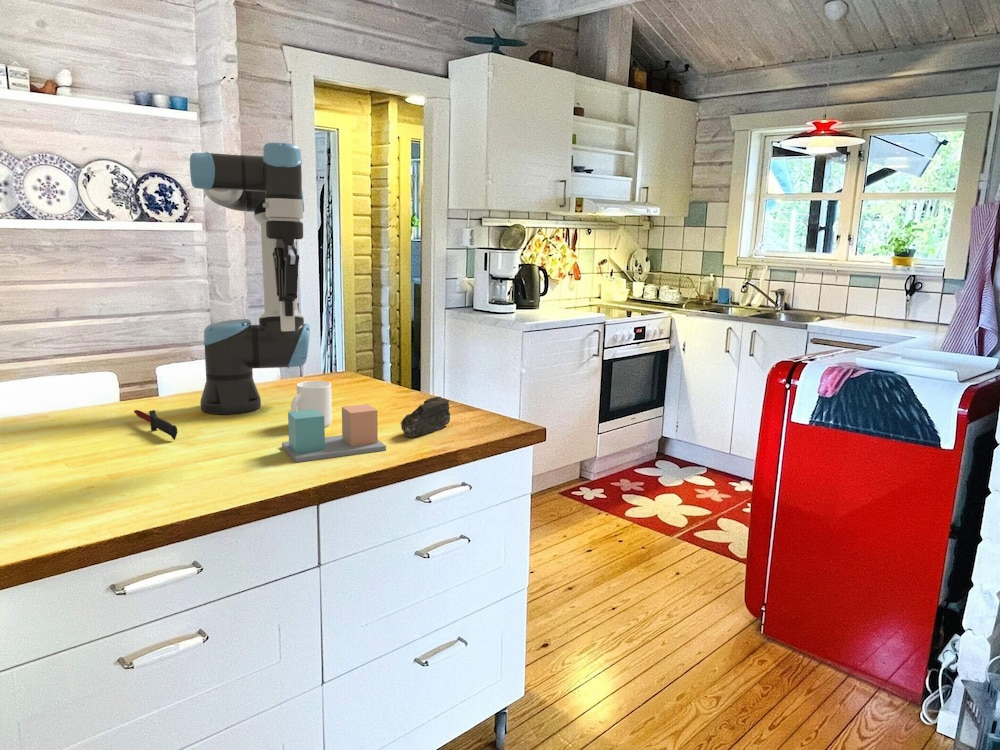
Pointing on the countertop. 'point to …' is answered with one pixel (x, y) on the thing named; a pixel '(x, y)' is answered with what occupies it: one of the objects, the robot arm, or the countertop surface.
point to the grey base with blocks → (347, 436)
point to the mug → (314, 399)
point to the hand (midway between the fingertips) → (287, 330)
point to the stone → (427, 418)
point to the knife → (158, 423)
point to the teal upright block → (306, 431)
